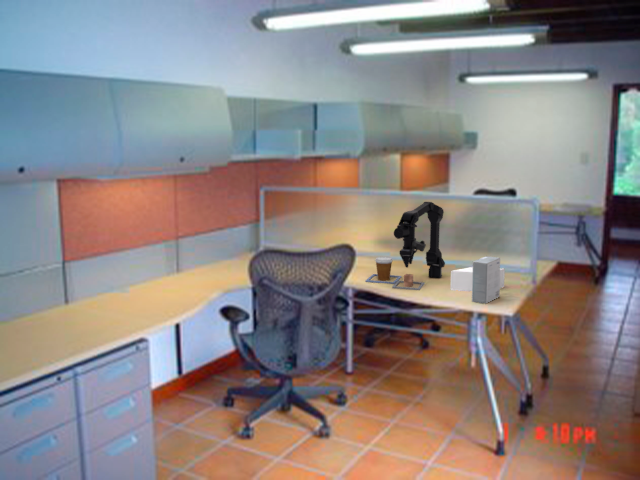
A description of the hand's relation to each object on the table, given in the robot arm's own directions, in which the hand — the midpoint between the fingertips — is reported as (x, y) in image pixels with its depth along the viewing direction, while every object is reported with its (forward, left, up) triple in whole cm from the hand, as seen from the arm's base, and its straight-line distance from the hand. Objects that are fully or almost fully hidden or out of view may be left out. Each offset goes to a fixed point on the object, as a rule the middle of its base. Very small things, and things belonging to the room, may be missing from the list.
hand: (408, 265), depth 334 cm
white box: (-35, -5, -11) cm, 37 cm away
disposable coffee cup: (+16, -10, -11) cm, 22 cm away
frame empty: (0, 0, -11) cm, 11 cm away
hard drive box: (-41, +15, -11) cm, 45 cm away
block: (0, 0, -11) cm, 11 cm away
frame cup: (+16, -10, -11) cm, 22 cm away
